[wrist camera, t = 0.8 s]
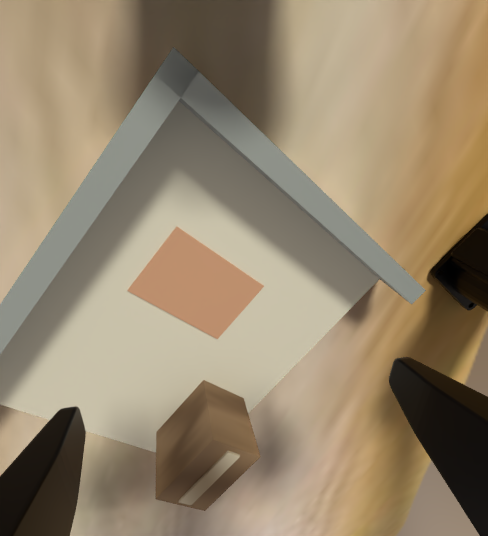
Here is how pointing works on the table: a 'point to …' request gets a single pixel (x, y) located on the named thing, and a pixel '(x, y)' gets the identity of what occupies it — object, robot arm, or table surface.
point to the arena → (181, 270)
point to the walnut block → (204, 447)
